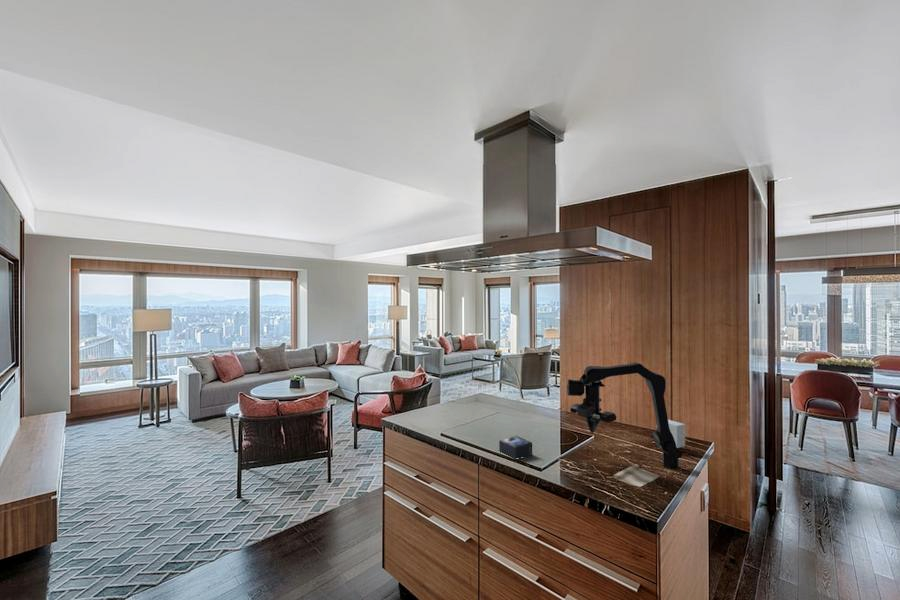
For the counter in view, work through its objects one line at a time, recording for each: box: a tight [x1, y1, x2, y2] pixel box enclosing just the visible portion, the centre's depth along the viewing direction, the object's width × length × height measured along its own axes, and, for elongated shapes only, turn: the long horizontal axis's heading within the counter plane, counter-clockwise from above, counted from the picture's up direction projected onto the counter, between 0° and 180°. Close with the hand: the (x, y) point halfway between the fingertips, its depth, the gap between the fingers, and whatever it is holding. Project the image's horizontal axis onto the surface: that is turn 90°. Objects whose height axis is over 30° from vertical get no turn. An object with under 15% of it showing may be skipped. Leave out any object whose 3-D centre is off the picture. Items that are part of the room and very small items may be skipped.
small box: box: [498, 435, 533, 459], centre depth 167 cm, size 11×6×10 cm
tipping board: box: [613, 463, 661, 488], centre depth 145 cm, size 16×10×2 cm, turn 126°
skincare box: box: [668, 419, 686, 449], centre depth 180 cm, size 10×6×10 cm, turn 27°
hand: (592, 432), depth 161 cm, fingers closed
